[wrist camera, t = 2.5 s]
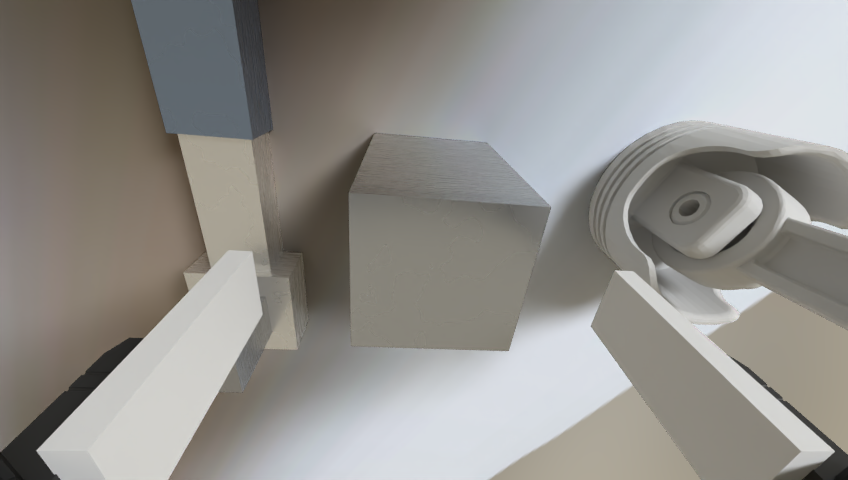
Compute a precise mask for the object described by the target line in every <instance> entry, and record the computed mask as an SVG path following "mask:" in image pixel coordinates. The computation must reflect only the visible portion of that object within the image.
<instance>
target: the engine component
mask: <svg viewBox="0 0 848 480" xmlns="http://www.w3.org/2000/svg"><path fill="white" fill-rule="evenodd" d="M811 221H818V222H823V223H827V224H830V225H832V226H835V227H838V228H841V229H848V153H846V152H844V151H843V150H840V149H837V148H833V147H830V146H825V145H820V144H815V143H811V142H806V141H801V140H796V139H791V138H786V137H781V136H776V135H771V134H766V133H761V132H756V131H751V130H746V129H741V128H736V127H731V126H726V125H721V124H716V123H711V122H706V121H682V122H677V123H674V124H670V125H666V126H663V127H661V128H658V129H656V130H654V131H652V132H650V133H648V134H646V135H644V136H643V137H641V138H640V139H638V140H637V141H635V142H634V143H632V144H631V145H629V146H628V147H627V148H626V149H625V150H624V151H623V152H621V153H620V154H619V155H618V156H617V157H616V158H615V160H614V161H613V162H612V163H611V164H610V165H609V167H608V168H607V169H606V171H605V172H604V174H603V175H602V177H601V178H600V180H599V182H598V184H597V185H596V188H595V191H594V193H593V196H592V199H591V202H590V209H589V227H590V232H591V235H592V237H593V239H594V241H595V243H596V244H597V245H598V247H599V248H600V249H601V250H602V251H603V252H604V253H605V254H606V255H607V256H608V257H609V258H610V259H611V260H612V261H613V262H614V263H615V264H616V265H618V267H619V268H620V269H621V270H622V271H634V272H635V273H636V274H637V275H638V276H639V277H640V278H642V279H643V280H644V281H645V282H646V283H647V284H648V285H649V286H651V287H652V288H653V289H654V290H655V291H656V292H657V293H658V294H660V295H661V296H662V297H663V298H664V299H665V300H666V301H667V302H668V303H670V304H671V305H672V306H673V307H674V308H675V309H676V310H677V311H679V312H680V313H681V314H682V315H683V316H684V317H685V318H686V319H688V320H689V321H690V322H691V323H693V324H699V325H717V324H725V323H731V322H733V321H735V320H737V319H738V318H739V316H740V314H739V312H738V310H737V309H735V308H734V307H733V306H731V305H730V304H729V303H728V302H727V301H726V300H725V299H724V298H723V296H722V293H721V290H737V289H753V288H758V287H761V286H764V287H765V288H767V289H769V290H771V291H773V292H775V293H777V294H779V295H781V296H783V297H785V298H787V299H789V300H790V301H792V302H794V303H797V304H798V305H800V306H802V307H804V308H806V309H808V310H810V311H812V312H814V313H816V314H817V315H819V316H821V317H823V318H825V319H827V320H829V321H831V322H833V323H835V324H836V325H838V326H840V327H842V328H844V329H846V330H848V236H846V235H843V234H839V233H836V232H833V231H830V230H827V229H823V228H820V227H817V226H814V225H812V224H811Z"/></svg>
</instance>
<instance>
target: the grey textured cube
mask: <svg viewBox="0 0 848 480" xmlns="http://www.w3.org/2000/svg"><path fill="white" fill-rule="evenodd" d="M550 210H551V206H550V205H549V204H548V203H547V202H546V201H545V200H544V199H543V198H542V197H541V196H540V195H539V194H538V193H537V192H536V191H535V190H534V189H533V188H532V187H531V186H530V185H529V184H528V183H527V182H526V181H525V180H524V179H523V178H522V177H521V176H520V175H519V174H518V173H517V172H516V171H515V170H514V169H513V168H512V167H511V166H510V165H509V164H508V163H507V162H506V161H505V160H504V159H503V158H502V157H501V156H500V155H499V154H498V153H497V152H496V151H495V150H494V149H493V148H492V147H491V146H490V145H489V144H488V143H484V142H473V141H461V140H450V139H438V138H426V137H415V136H403V135H391V134H380V133H374V136H373V138H372V140H371V143H370V145H369V147H368V150H367V152H366V154H365V156H364V159H363V161H362V163H361V166H360V168H359V170H358V172H357V175H356V177H355V179H354V182H353V184H352V186H351V189H350V191H349V252H350V316H351V346H363V347H395V348H428V349H460V350H492V351H509V348H510V345H511V342H512V338H513V335H514V331H515V328H516V325H517V321H518V318H519V314H520V311H521V308H522V304H523V301H524V298H525V294H526V291H527V287H528V284H529V281H530V277H531V274H532V271H533V267H534V264H535V260H536V257H537V254H538V250H539V247H540V243H541V240H542V237H543V233H544V230H545V227H546V223H547V220H548V216H549V213H550Z"/></svg>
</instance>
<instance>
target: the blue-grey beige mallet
mask: <svg viewBox="0 0 848 480" xmlns="http://www.w3.org/2000/svg"><path fill="white" fill-rule="evenodd" d="M131 2H132V6H133V10H134V14H135V17H136V21H137V25H138V29H139V32H140V36H141V40H142V44H143V47H144V51H145V55H146V59H147V62H148V66H149V70H150V74H151V77H152V81H153V85H154V89H155V93H156V96H157V100H158V104H159V108H160V111H161V115H162V119H163V123H164V126H165V130H166V133H174V134H178V138H179V142H180V146H181V150H182V154H183V158H184V162H185V166H186V170H187V174H188V178H189V182H190V186H191V190H192V194H193V198H194V202H195V206H196V210H197V214H198V218H199V222H200V226H201V230H202V234H203V238H204V242H205V246H206V250H207V251H206V252H205V253H204V254H202V255H201V256H200V257H199V258H198V259H197V260H196V261H195V262H194V263H193V264H192V265H191V266H190V267H189V268H188V269H187V270H186V271H185V272H184V277H185V280H186V283H187V287H188V290H189V291H190V290H191V289H192V288H193V287H194V286H195V285H196V284H197V283H198V282H199V281H200V280H201V278H202V277H203V276H204V275H205V274H206V273H207V272H208V271H209V270H210V269H211V268H212V267H213V266H214V265H215V264H216V263H217V262H218V261H219V260H220V259H221V258H222V257H223V256H224V254H225V253H226V252H227V251H228V250H236V251H252V253H253V259H254V265H255V271H256V277H257V283H258V289H259V295H260V301H261V307H262V313H263V315H262V317H261V318H260V320H259V322H258V324H257V325H256V327H255V329H254V331H253V332H252V334H251V336H250V338H249V339H248V341H247V343H246V344H245V346H244V348H243V350H242V351H241V353H240V355H239V357H238V358H237V360H236V362H235V364H234V365H233V367H232V369H231V371H230V372H229V374H228V376H227V378H226V379H225V381H224V383H223V385H222V386H221V388H220V390H219V392H236V393H243V391H244V389H245V387H246V385H247V383H248V381H249V379H250V377H251V375H252V373H253V371H254V369H255V366H256V364H257V362H258V360H259V358H260V356H261V354H262V352H263V350H264V349H289V350H298V347H299V344H300V342H301V339H302V336H303V334H304V331H305V328H306V326H307V323H308V320H309V318H308V307H307V296H306V286H305V275H304V264H303V253H301V252H283V244H282V236H281V228H280V220H279V211H278V203H277V195H276V187H275V179H274V171H273V163H272V155H271V147H270V139H269V131H271V130H273V127H272V118H271V110H270V101H269V93H268V84H267V76H266V67H265V59H264V50H263V42H262V34H261V25H260V17H259V8H258V0H131Z"/></svg>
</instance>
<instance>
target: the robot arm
mask: <svg viewBox="0 0 848 480" xmlns="http://www.w3.org/2000/svg"><path fill="white" fill-rule="evenodd" d="M262 315H263V313H262V307H261V301H260V295H259V289H258V283H257V277H256V271H255V265H254V259H253V253H252V251H236V250H228V251H227V252H226V253H225V254H224V256H223V257H222V258H221V259H220V260H219V261H218V262H217V263H216V264H215V265H214V266H213V267H212V268H211V269H210V270H209V271H208V272H207V273H206V274H205V275H204V276H203V277H202V278H201V280H200V281H199V282H198V283H197V284H196V285H195V286H194V287H193V288H192V289H191V290H190V291H189V292H188V293H187V294H186V295H185V296H184V297H183V298H182V299H181V300H180V301H179V302H178V303H177V305H176V306H175V307H174V308H173V309H172V310H171V311H170V312H169V313H168V314H167V315H166V316H165V317H164V318H163V319H162V320H161V321H160V322H159V323H158V324H157V325H156V326H155V327H154V329H153V330H152V331H151V332H150V333H149V334H148V335H147V336H146V337H145V338H128V339H127V340H125V341H124V342H122V343H120V344H119V345H117V346H115V347H114V348H112V349H110V350H109V351H107V352H106V353H104V354H103V355H102V356H101V357H100V358H99V359H98V360H97V361H96V362H95V363H94V364H93V365H92V366H91V367H90V368H89V369H88V370H86V373H85V375H81V376H80V377H79V378H78V379H77V380H76V381H75V382H74V383H73V384H72V385H71V386H70V387H69V390H68V391H64V392H63V393H62V394H61V395H60V396H59V397H58V398H57V399H56V400H55V401H54V402H53V403H52V404H51V405H50V406H49V407H48V408H47V409H46V410H45V411H44V412H42V413H41V414H40V415H39V416H38V417H37V418H36V419H35V420H34V421H33V422H32V423H31V424H30V425H29V426H28V427H27V428H26V429H25V430H24V431H23V432H22V433H20V434H19V435H18V436H17V437H16V438H15V439H14V440H13V441H12V442H11V443H10V444H9V445H8V446H7V447H6V448H5V449H4V450H3V451H2V452H0V480H168V479H169V477H170V475H171V474H172V472H173V470H174V468H175V467H176V465H177V463H178V461H179V460H180V458H181V456H182V454H183V453H184V451H185V449H186V448H187V446H188V444H189V442H190V441H191V439H192V437H193V435H194V434H195V432H196V430H197V428H198V427H199V425H200V423H201V421H202V420H203V418H204V416H205V414H206V413H207V411H208V409H209V407H210V406H211V404H212V402H213V400H214V399H215V397H216V395H217V393H218V392H219V390H220V388H221V386H222V385H223V383H224V381H225V379H226V378H227V376H228V374H229V372H230V371H231V369H232V367H233V365H234V364H235V362H236V360H237V358H238V357H239V355H240V353H241V351H242V350H243V348H244V346H245V344H246V343H247V341H248V339H249V338H250V336H251V334H252V332H253V331H254V329H255V327H256V325H257V324H258V322H259V320H260V318H261V317H262ZM591 327H592V329H593V330H594V331H595V333H596V334H597V336H598V337H599V338H600V340H601V341H602V342H603V344H604V345H605V347H606V348H607V349H608V351H609V352H610V354H611V355H612V356H613V358H614V359H615V361H616V362H617V363H618V365H619V366H620V368H621V369H622V370H623V372H624V373H625V375H626V376H627V377H628V379H629V380H630V381H631V383H632V384H633V386H634V387H635V388H636V390H637V391H638V393H639V394H640V395H641V397H642V398H643V400H644V401H645V402H646V404H647V405H648V407H649V408H650V409H651V411H652V412H653V413H654V415H655V416H656V418H657V419H658V420H659V422H660V423H661V425H662V426H663V427H664V429H665V430H666V432H667V433H668V434H669V436H670V437H671V439H672V440H673V441H674V443H675V444H676V446H677V447H678V448H679V450H680V451H681V452H682V454H683V455H684V457H685V458H686V459H687V461H688V462H689V464H690V465H691V466H692V468H693V469H694V470H695V472H696V473H697V475H698V476H699V477H700V479H701V480H848V455H847V454H846V453H845V452H844V451H843V450H842V449H841V448H839V447H838V446H837V445H836V444H835V443H834V442H832V441H831V440H830V439H829V438H828V437H827V436H826V435H824V434H823V433H822V432H821V431H820V430H819V429H818V428H816V427H815V426H814V425H813V424H812V423H811V422H810V421H809V420H807V419H806V418H805V417H804V416H803V415H802V414H801V413H799V412H798V411H797V410H796V409H795V408H794V407H793V406H791V405H790V404H789V403H788V402H787V401H783V399H782V397H781V396H780V395H779V394H778V393H777V392H775V391H774V390H773V389H772V388H770V387H767V384H766V383H765V382H764V381H763V380H762V379H760V378H759V377H758V376H757V375H756V374H755V373H754V372H752V371H751V370H750V369H749V368H748V367H746V366H745V365H743V364H741V363H740V362H738V361H737V360H735V359H734V358H732V357H730V356H729V355H727V354H726V353H724V352H723V351H722V350H721V349H720V348H719V347H718V346H717V345H715V344H714V343H713V342H712V341H711V340H710V339H709V338H708V337H707V336H705V335H704V334H703V333H702V332H701V331H700V330H699V329H698V328H696V327H695V326H694V325H693V324H692V323H691V322H690V321H689V320H688V319H686V318H685V317H684V316H683V315H682V314H681V313H680V312H679V311H677V310H676V309H675V308H674V307H673V306H672V305H671V304H670V303H668V302H667V301H666V300H665V299H664V298H663V297H662V296H661V295H660V294H658V293H657V292H656V291H655V290H654V289H653V288H652V287H651V286H649V285H648V284H647V283H646V282H645V281H644V280H643V279H642V278H640V277H639V276H638V275H637V274H636V273H635V272H634V271H619V270H614V272H613V275H612V277H611V279H610V282H609V284H608V287H607V289H606V291H605V294H604V296H603V298H602V301H601V303H600V306H599V308H598V310H597V313H596V315H595V317H594V320H593V322H592V325H591Z"/></svg>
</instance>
